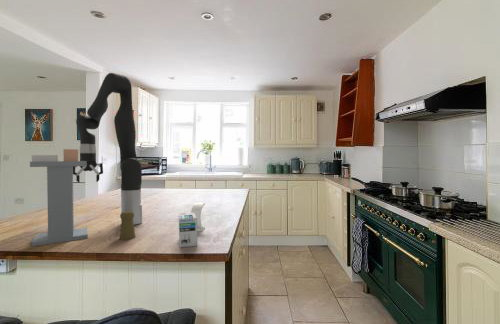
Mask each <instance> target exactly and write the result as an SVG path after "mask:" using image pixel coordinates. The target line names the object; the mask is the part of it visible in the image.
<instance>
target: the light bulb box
mask: <svg viewBox="0 0 500 324" xmlns="http://www.w3.org/2000/svg"><path fill="white" fill-rule="evenodd" d="M178 236H179V237H178V239H179V248H187V247H197V246H198V231H197V217H196V215H195V213H191V212H184V213H183V212H182V213H179V212H178Z"/></svg>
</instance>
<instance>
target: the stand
mask: <svg viewBox="0 0 500 324" xmlns="http://www.w3.org/2000/svg"><path fill="white" fill-rule="evenodd" d="M73 166H77V167H80V166H87V161H80V160H78V161H64V160H63V161H62V160H61V161H60V160H59V155H57V154H56V155H55V154H47V155H46V154H32V155H31V161H29V167H30V168H45V167H46V176H47V177H46V182H47V183H46V184H47V185H46V186H47V190H46V191H47V192H46V193H47V232H41V233H36V234H35V236H34V238H33V239H32V240H31V242H30V246H31V247H36V246H42V245H43V246H44V245H50V244H57V243H64V242H69V241H71V242H72V241H79V240H85V239H88V238H89V237H88V232H89V231H88V227H81V228H75V227H74V226H75V222H74V221H75V220H74V217H75V216H74V210H75V209H74V174H73Z"/></svg>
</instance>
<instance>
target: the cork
mask: <svg viewBox="0 0 500 324" xmlns="http://www.w3.org/2000/svg"><path fill="white" fill-rule="evenodd" d="M119 215H120V216H119V217H120V220H121V219H122V223H121V224H120V232H119V238H118V239H119V240H121V241H128V240H132V239H135V238H136V233H135V225H134V224H133V218H134V213H133V212H132V211H125V212H122V213H120V214H119Z"/></svg>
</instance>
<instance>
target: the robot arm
mask: <svg viewBox="0 0 500 324" xmlns="http://www.w3.org/2000/svg"><path fill="white" fill-rule="evenodd" d="M132 92H133V88H132V83H131V79H130V78H129V77H128V76H127V75H124V74H119V73H114V72H109V73H107V74H106V75H105V76H104V79H103V81H102V83H101V84H100V87H99V90H98V92H97V95H96V96H95V99H94V101H92V104H90V106H89V108H88V109H87V115H84V114H83V115H79V116H78V117H77V118H76V120H75V121H76V122H75V123H76V127H77V129H78V134H79V138H80V139H79V141H80V145H79V161H87V166H79V167H80V169H79V170H78V171H77V172H76V168H78V166H73V176H76V179H75V180H76V182H77V183H78V184H79V183H80V175H81V173H82V172H83V171H84V172H92V171H93V172H94V173H95V174H96V178H95V179H96V180H95V181H96V183H99V181H100V175H103V174H104V167H103V163H102V162H100V163H97V146H96V135H95V133H91V132H89V131H88V130H96V129H98V128H99V126H100V124H101V120H102V117H103V116H104V114H105V113H106V112H107V111H108V109H109V108H108V107H109V102H108V98H109V96H110V95H111V94H112V93H113V94H119V99H120V104H119V107H118V109H117V111H116V114H115V115H114V118H113V122H114V123H113V124H114V128H115V136H116V140H117V144H118V147H119V158H120V159H119V161H120V162H119V163H120V164H119V166H120V167H119V168H120V171H121V175H120V177H121V181H120V205H121V207H120V208H121V211H120V212H121V213H122V212H125V211H132V212H133V213H134V218H133V224H134V226H136V225H139V224H143V204H142V190H141V189H142V181H143V180H142V177H143V175H142V170H143V168H142V164H141V162H140V160H138V156H137V153H136V140H137V139H136V136H137V134H136V123H135V117H134V109H133V93H132ZM96 167H98V168H99V169H100V170H99V171H98V170H97V169H96ZM121 213H120V214H121ZM120 220H121V221H120V222H121V223H122V219H121V218H120Z"/></svg>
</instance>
